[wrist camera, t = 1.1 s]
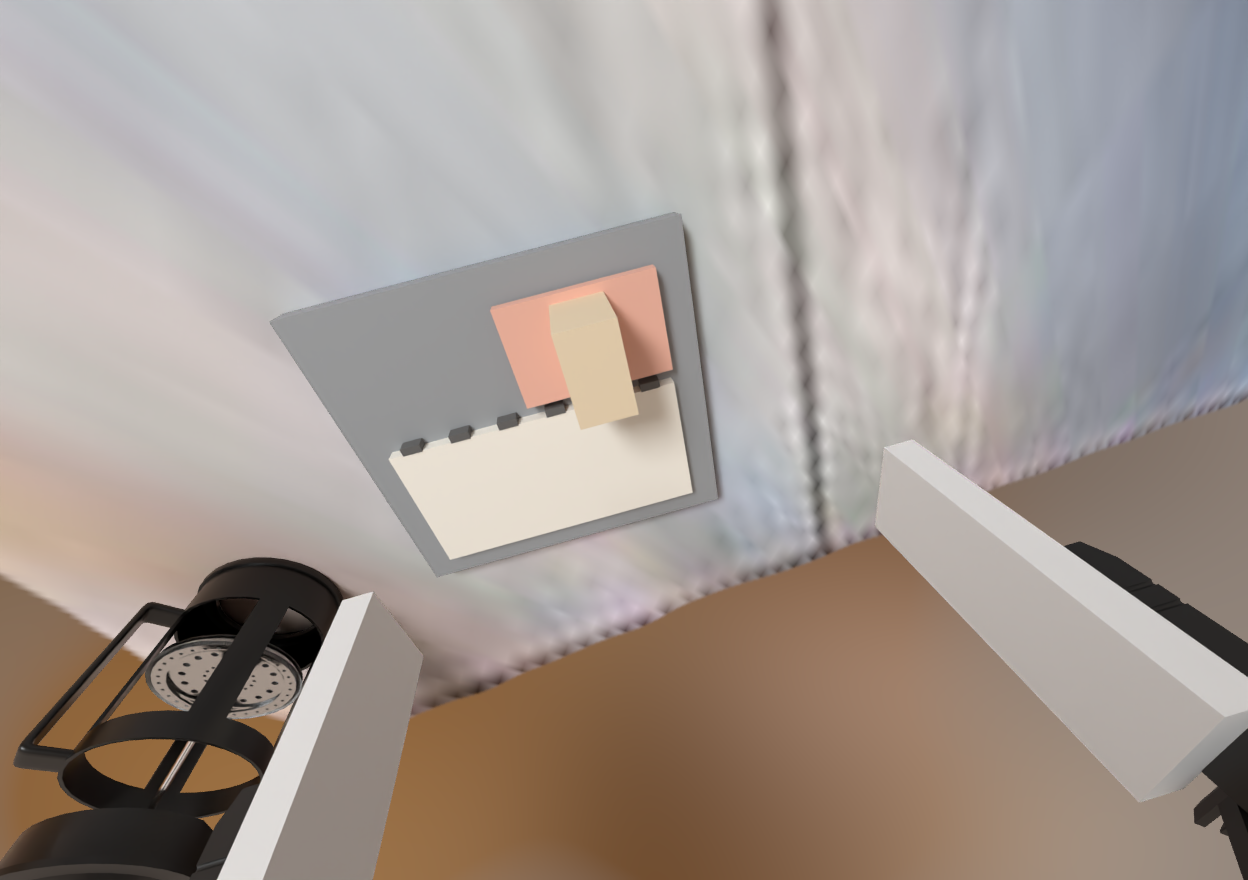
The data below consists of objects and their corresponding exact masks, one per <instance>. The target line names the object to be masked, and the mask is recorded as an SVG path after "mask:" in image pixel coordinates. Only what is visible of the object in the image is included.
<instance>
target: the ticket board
mask: <svg viewBox="0 0 1248 880" xmlns="http://www.w3.org/2000/svg"><path fill="white" fill-rule="evenodd" d="M652 264H653V265H654V266H655V267H656V272H657V278H658V283H659V289H660V295H661V301H662V307H663V313H664V319H665V325H666V331H667V337H668V343H669V349H670V355H671V361H672V367H673V370H670V371H666V372H662V373H658V374H655V375H651V376H647V377H644V378H640V379H636V380H632V385H633V390H634V394H635V399H636V403H637V408H638V412H639V414H638V415H634V416H631V417H627V418H623V419H620V420H616V421H612V422H609V423H605V424H601V425H598V426H594V427H590V428H587V429H583V430H581V429H580V426H579V423H578V420H577V417H576V413H575V410H574V407H573V404H572V401H571V397H569V398H566V399H562V400H558V401H555V402H551V403H547V404H543V405H540V406H536V407H532V408H529V409H527V407H526V404H525V402H524V399H523V396H522V394H521V391H520V389H519V386H518V383H517V381H516V378H515V375H514V373H513V370H512V367H511V365H510V362H509V359H508V357H507V354H506V352H505V349H504V346H503V344H502V341H501V338H500V336H499V333H498V330H497V328H496V325H495V323H494V320H493V317H492V315H491V312H490V309H491V307H492V306H496V305H500V304H504V303H507V302H511V301H515V300H519V299H523V298H526V297H530V296H534V295H538V294H542V293H545V292H549V291H553V290H557V289H561V288H564V287H568V286H572V285H576V284H580V283H583V282H587V281H591V280H595V279H599V278H602V277H606V276H610V275H614V274H618V273H621V272H625V271H629V270H633V269H637V268H641V267H644V266H648V265H652ZM270 324H271V326H272V327H273V329H274V330H275V332H276V333H277V335H278V336H279V338H280V339H281V341H282V342H283V344H284V345H285V347H286V348H287V350H288V351H289V353H290V354H291V356H292V357H293V359H294V361H295V362H296V364H297V365H298V367H299V368H300V370H301V371H302V373H303V374H304V376H305V377H306V379H307V380H308V382H309V383H310V385H311V386H312V388H313V389H314V391H315V392H316V394H317V395H318V397H319V399H320V400H321V402H322V403H323V405H324V406H325V408H326V409H327V411H328V412H329V414H330V415H331V417H332V418H333V420H334V421H335V423H336V424H337V426H338V427H339V429H340V430H341V432H342V434H343V435H344V437H345V438H346V440H347V441H348V443H349V444H350V446H351V447H352V449H353V450H354V452H355V453H356V455H357V456H358V458H359V459H360V461H361V462H362V464H363V465H364V467H365V468H366V470H367V472H368V473H369V475H370V476H371V478H372V479H373V481H374V482H375V484H376V485H377V487H378V488H379V490H380V491H381V493H382V494H383V496H384V497H385V499H386V500H387V502H388V503H389V505H390V507H391V508H392V510H393V511H394V513H395V514H396V516H397V517H398V519H399V520H400V522H401V523H402V525H403V526H404V528H405V529H406V531H407V532H408V534H409V535H410V537H411V538H412V540H413V542H414V543H415V545H416V546H417V548H418V549H419V551H420V552H421V554H422V555H423V557H424V558H425V560H426V561H427V563H428V564H429V566H430V567H431V569H432V570H433V572H434V573H435V575H436V576H437V577H440V576H443V575H447V574H451V573H454V572H458V571H461V570H465V569H469V568H472V567H476V566H479V565H483V564H487V563H490V562H494V561H497V560H501V559H504V558H508V557H512V556H515V555H519V554H522V553H526V552H530V551H533V550H537V549H540V548H544V547H548V546H551V545H555V544H558V543H562V542H566V541H569V540H573V539H576V538H580V537H584V536H587V535H591V534H594V533H598V532H602V531H605V530H609V529H612V528H616V527H619V526H623V525H627V524H630V523H634V522H637V521H641V520H645V519H648V518H652V517H655V516H659V515H663V514H666V513H670V512H673V511H677V510H681V509H684V508H688V507H691V506H695V505H699V504H702V503H706V502H709V501H713V500H716V499H718V495H717V487H716V479H715V471H714V464H713V456H712V448H711V441H710V433H709V425H708V417H707V410H706V402H705V394H704V387H703V379H702V371H701V363H700V356H699V348H698V340H697V333H696V325H695V317H694V309H693V302H692V294H691V286H690V279H689V271H688V263H687V255H686V248H685V240H684V232H683V225H682V217H681V214H678V213H675V212H673V213H669V214H665V215H661V216H657V217H654V218H650V219H646V220H642V221H638V222H634V223H630V224H627V225H623V226H619V227H615V228H611V229H607V230H604V231H600V232H596V233H592V234H588V235H584V236H581V237H577V238H573V239H569V240H565V241H561V242H557V243H554V244H550V245H546V246H542V247H538V248H534V249H531V250H527V251H523V252H519V253H515V254H511V255H507V256H504V257H500V258H496V259H492V260H488V261H484V262H481V263H477V264H473V265H469V266H465V267H461V268H457V269H454V270H450V271H446V272H442V273H438V274H434V275H431V276H427V277H423V278H419V279H415V280H411V281H407V282H404V283H400V284H396V285H392V286H388V287H384V288H381V289H377V290H373V291H369V292H365V293H361V294H357V295H354V296H350V297H346V298H342V299H338V300H334V301H331V302H327V303H323V304H319V305H315V306H311V307H307V308H304V309H300V310H296V311H292V312H288V313H284V314H282V315H280V316H278V317H277V318H275V319H273V320H272V321H270Z"/></svg>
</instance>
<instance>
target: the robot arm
mask: <svg viewBox="0 0 1248 880" xmlns="http://www.w3.org/2000/svg"><path fill="white" fill-rule="evenodd" d="M875 527H876V528H877V529H878V530H879V531H880V532H881V533H882V534H883V535H884V536H885V537H886V538H887V539H888V541H889V542H890V543H891V544H892V545H893V546H894V547H895V548H896V549H897V550H898V551H899V552H900V553H901V554H902V555H903V556H904V557H905V558H906V559H907V560H908V561H909V563H910V564H912V566H913V567H914V568H915V569H916V570H917V571H918V572H919V573H920V574H921V575H922V576H923V577H924V578H925V579H926V580H927V581H928V582H929V583H930V584H931V586H933V588H934V589H935V590H936V591H937V592H938V593H939V594H940V595H941V596H942V597H943V598H944V599H945V600H946V601H947V602H948V603H949V604H950V605H951V606H952V607H953V608H954V610H955V611H957V613H958V614H959V615H960V616H961V617H962V618H963V619H964V620H965V621H966V622H967V623H968V624H969V625H970V626H971V627H972V628H973V629H974V630H975V631H976V632H977V634H978V635H979V636H980V637H981V638H982V639H983V640H984V641H985V642H986V643H987V644H988V645H989V646H990V647H991V648H992V649H993V650H994V651H995V652H996V653H997V654H998V655H999V656H1000V658H1001V659H1002V660H1003V661H1004V662H1005V663H1006V664H1007V665H1008V666H1009V667H1010V668H1011V669H1012V670H1013V671H1014V672H1015V673H1016V674H1017V675H1018V676H1019V677H1020V678H1021V680H1022V681H1023V682H1025V684H1026V685H1027V686H1028V687H1029V688H1030V689H1031V690H1032V691H1033V692H1034V693H1035V694H1036V695H1037V696H1038V697H1039V698H1040V699H1041V700H1042V702H1044V704H1046V706H1047V707H1048V708H1049V709H1050V710H1051V711H1052V712H1053V713H1054V714H1055V715H1056V716H1057V717H1058V718H1059V719H1060V720H1061V721H1062V722H1063V723H1064V724H1065V726H1067V728H1068V729H1069V730H1070V731H1071V732H1072V733H1073V734H1074V735H1075V736H1076V737H1077V738H1078V739H1079V740H1080V741H1081V742H1082V743H1083V744H1084V745H1085V746H1086V747H1087V748H1088V749H1089V751H1090V752H1091V753H1092V754H1093V755H1094V756H1095V757H1096V758H1097V759H1098V760H1099V761H1100V762H1101V763H1102V764H1103V765H1104V766H1105V767H1106V768H1107V769H1108V770H1109V772H1110V773H1111V774H1112V775H1113V776H1114V777H1115V778H1116V779H1117V780H1118V781H1119V782H1120V783H1121V784H1122V785H1123V786H1124V787H1125V788H1126V789H1127V790H1128V791H1129V792H1130V793H1131V794H1132V795H1133V796H1134V797H1135V799H1136V800H1137V801H1138V802H1139V803H1140V802H1143V801H1146V800H1149V799H1152V798H1156V797H1159V796H1162V795H1165V794H1168V793H1172V792H1174V791H1178V790H1181V789H1184V788H1185V787H1186V786H1187V785H1188V784H1189V783H1190V782H1191V781H1193V780H1194V778H1196V777H1197V776H1198V775H1199V774H1200V773H1201V772H1203V773H1204V774H1205V775H1206V776H1207V777H1208V778H1209V779H1210V780H1211V781H1213V782H1214V783H1215V784H1216V785H1217V786H1218V787H1217V788H1216V789H1214V790H1213V791H1212V792H1211V793H1210V794H1208V795H1207V796H1206V797H1205V798H1204V799H1202V800H1201V801H1200V803H1199V804H1198V805H1197V806H1196V807H1195V808H1194V822H1195V824H1198V825H1201V826H1203V827H1206V826H1207V825H1208V824H1210V823H1211V822H1212V821H1214V820H1215V819H1216V818H1218V817H1219V816H1220V815H1221V816H1222V819H1223V822H1224V823H1223V825H1222V827H1221V829H1220V833H1222V834H1224V835H1227V836H1229V839H1230V842H1231V845H1232V848H1233V851H1234V853H1235V856H1236V859H1237V862H1238V865H1239V868H1240V871H1241V874H1242V876H1243V879H1244V880H1248V643H1246V642H1245V641H1243V640H1242V639H1240V638H1239V637H1237V636H1236V635H1234V634H1233V633H1231V632H1230V631H1228V630H1227V629H1225V628H1224V627H1222V626H1220V625H1219V624H1218V623H1216V622H1215V621H1213V620H1212V619H1210V618H1208V617H1207V616H1206V615H1204V614H1202V613H1201V612H1200V611H1198V610H1196V609H1195V608H1194V607H1192V606H1190V605H1189V604H1184V603H1182V602H1181V601H1180V598H1178V597H1177V596H1175V595H1174V594H1172V593H1171V592H1169V591H1168V590H1166V589H1165V588H1163V587H1162V586H1160V585H1159V584H1158V585H1155V584H1153V583H1152V580H1151V579H1150V578H1148V577H1147V576H1145V575H1143V574H1142V573H1141V572H1139V571H1138V570H1136V569H1134V568H1133V567H1131V566H1130V565H1129V564H1127V563H1126V562H1124V561H1122V560H1121V559H1119V558H1118V557H1116V556H1113V555H1111V554H1109V553H1106V552H1104V551H1101V550H1099V549H1097V548H1094V547H1092V546H1089V545H1087V544H1085V543H1082V542H1076V543H1073V544H1069V545H1066V546H1062V545H1061V544H1059V543H1058V542H1057V541H1055V540H1054V539H1052V538H1051V537H1049V536H1048V535H1046V534H1045V533H1044V532H1042V531H1041V530H1039V529H1038V528H1037V527H1035V526H1034V525H1032V524H1031V523H1030V522H1028V521H1027V520H1026V519H1024V518H1023V517H1021V516H1020V515H1018V514H1017V513H1016V512H1014V511H1013V510H1011V509H1010V508H1009V507H1007V506H1006V505H1004V504H1003V503H1002V502H1000V501H999V500H997V499H996V498H995V497H993V496H992V495H990V494H989V493H987V492H986V491H985V490H983V489H982V488H980V487H979V486H978V485H976V484H975V483H973V482H972V481H971V480H969V479H968V478H966V477H965V476H964V475H962V474H961V473H959V472H958V471H957V470H955V469H954V468H952V467H951V466H949V465H948V464H947V463H945V462H944V461H942V460H941V459H940V458H938V457H937V456H935V455H934V454H933V453H931V452H930V451H928V450H927V449H926V448H924V447H923V446H921V445H920V444H918V443H917V442H916V441H914V440H913V439H912V440H909V441H905V442H902V443H898V444H895V445H891V446H887V447H884V452H883V460H882V469H881V477H880V486H879V494H878V503H877V511H876V520H875ZM423 658H424V656H423V654H422V653H421V652H420V650H419V649H418V648H417V647H416V645H415V644H414V643H413V642H412V640H411V639H410V638H409V636H408V635H407V634H406V633H405V631H404V630H403V629H402V627H401V626H400V625H399V624H398V622H397V621H396V620H395V619H394V617H393V616H392V615H391V613H390V612H389V611H388V610H387V608H386V607H385V606H384V605H383V603H382V602H381V601H380V599H379V598H378V597H377V596H376V594H375V593H374V592H370V593H367V594H363V595H360V596H356V597H352V598H349V599H345V600H342V602H341V605H340V607H339V609H338V611H337V613H336V616H335V618H334V620H333V622H332V625H331V627H330V629H329V631H328V634H327V636H326V638H325V640H324V642H323V645H322V647H321V649H320V651H319V654H318V656H317V658H316V660H315V663H314V665H313V667H312V669H311V671H310V674H309V676H308V678H307V680H306V683H305V685H304V687H303V689H302V691H301V694H300V696H299V698H298V700H297V703H296V705H295V707H294V709H293V712H292V714H291V716H290V718H289V720H288V723H287V725H286V727H285V729H284V732H283V734H282V736H281V738H280V741H279V743H278V745H277V747H276V749H275V752H274V754H273V756H272V758H271V761H270V763H269V765H268V767H267V769H266V772H265V774H264V776H263V778H262V781H261V783H259V784H256V785H253V786H249V787H246V788H243V789H242V791H241V792H240V793H239V795H238V796H237V797H236V799H235V800H234V801H233V803H232V804H231V805H230V807H229V808H228V810H227V811H226V812H225V814H224V815H223V816H222V818H221V819H220V820H219V822H218V823H217V825H216V826H215V828H214V830H213V832H212V834H211V836H210V838H209V840H208V842H207V844H206V846H205V848H204V850H203V853H202V855H201V857H200V859H199V861H198V863H197V865H196V866H197V870H196V872H195V873H193V874H192V875H191V877H190V879H189V880H373V875H374V871H375V867H376V863H377V858H378V854H379V849H380V845H381V841H382V836H383V831H384V828H385V823H386V819H387V815H388V810H389V806H390V802H391V797H392V792H393V788H394V784H395V780H396V775H397V771H398V766H399V762H400V758H401V754H402V749H403V745H404V740H405V735H406V732H407V727H408V723H409V719H410V714H411V710H412V706H413V701H414V697H415V692H416V688H417V684H418V679H419V675H420V671H421V666H422V662H423Z"/></svg>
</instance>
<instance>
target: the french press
mask: <svg viewBox="0 0 1248 880" xmlns="http://www.w3.org/2000/svg"><path fill="white" fill-rule="evenodd" d="M237 598H246V599H256V600H259V601H258V603H257V604H256V606H255V608H254V609H253V611H252V612H251V614H250V615H249V617H248V618H247V620H246V622H245V623H244V625H243V626H241V625H239V624H237V623H236V622H234V621H233V620H231V619H230V618H229V617H228V616H227V615H226V614H225V613H224V611H223V610H222V608H221V606H220V603H219V600H223V599H237ZM342 600H343V598H342V596H341V594H340V592H339V590H338V589H337V587H336V586H335V585H334V584H333V583H332V582H331V581H330V580H329V579H328V578H326V577H325V576H324V575H323V574H321V573H319V572H317V571H315V570H314V569H312V568H309V567H307V566H304V565H302V564H299V563H295V562H291V561H287V560H283V559H275V558H248V559H241V560H237V561H233V562H230V563H227V564H225V565H223V566H221V567H219V568H217V569H215V570H214V571H213V572H211V573H210V574H209V575H208V576H207V577H206V578H205V579H204V581H203V582H202V584H201V585H200V587H199V590H198V593H197V595H196V596H195V598H194V599H193V600H192V601H191V603H190V604H189V605H188V606H187V608H186V609H185V610H183V609H179V608H175V607H171V606H167V605H163V604H159V603H155V602H150V603H147V604H146V605H144V606H143V607H142V608H141V609H140V610H139V612H138V613H137V614H136V615H135V616H134V617H133V618H132V619H131V621H130V622H129V623H128V624H127V625H126V626H125V627H124V628H123V629H122V631H121V632H120V633H119V634H118V635H117V636H116V637H115V638H114V640H113V641H112V642H111V643H110V644H109V645H108V646H107V647H106V648H105V650H104V651H103V652H102V653H101V654H100V655H99V656H98V658H97V659H96V660H95V661H94V662H93V663H92V664H91V665H90V666H89V667H88V669H87V670H86V671H85V672H84V673H83V674H82V675H81V676H80V677H79V679H78V680H77V681H76V682H75V683H74V684H73V685H72V687H71V688H70V689H69V690H68V691H67V692H66V693H65V694H64V695H63V696H62V698H61V699H60V700H59V701H58V702H57V703H56V704H55V706H54V707H53V708H52V709H51V710H50V711H49V712H48V713H47V715H45V717H44V718H43V719H42V720H41V721H40V722H39V723H38V724H37V726H36V727H35V728H34V729H33V730H32V731H31V732H30V733H29V734H28V736H27V737H26V738H25V739H24V740H23V741H22V743H21V744H20V746H19V747H18V750H17V753H16V756H15V759H14V766H15V767H19V768H24V769H33V770H42V771H51V772H58V777H57V779H58V782H59V785H60V787H61V788H62V789H63V790H64V791H65V793H66V794H67V795H68V796H70V797H71V798H73V799H74V800H76V801H77V802H79V803H81V804H83V805H85V806H88V807H90V808H92V809H93V810H84V811H78V812H73V813H68V814H63V815H59V816H56V817H53V818H49V819H46V820H44V821H42V822H39V823H37V824H35V825H32V826H31V827H30V828H28V829H27V830H25V831H24V832H23V833H22V834H21V835H20V836H19V838H18V839H17V840H16V842H15V843H14V844H13V845H12V847H11V848H10V849H9V851H8V852H7V853H6V855H5V856H4V857H3V858H2V860H1V861H0V880H189V879H190V877H191V875H192V874H193V873H195V872H196V870H197V866H196V865H197V863H198V861H199V859H200V857H201V855H202V853H203V850H204V848H205V846H206V844H207V842H208V840H209V838H210V836H211V834H212V832H213V830H212V829H211V828H210V827H209V826H208V825H207V824H206V823H205V822H204V820H201V819H198V818H203V817H209V816H213V815H218V814H222V813H225V812H226V811H227V810H228V808H229V807H230V805H231V804H232V803H233V801H234V800H235V799H236V797H237V796H238V795H239V793H240V792H241V791H242V789H243V788H246V787H249V786H253V785H256V784H259V783H261V781H262V778H263V776H264V774H265V772H266V769H267V767H268V765H269V763H270V761H271V758H272V756H273V754H274V752H275V749H276V747H277V745H278V743H279V741H280V738H281V736H282V734H283V732H284V729H285V727H286V725H287V723H288V720H289V718H290V716H291V714H292V712H293V709H294V707H295V705H296V703H297V700H298V698H299V696H300V694H301V691H302V689H303V687H304V685H305V683H306V680H307V678H308V676H309V674H310V671H311V669H312V667H313V665H314V663H315V660H316V658H317V656H318V654H319V651H320V649H321V647H322V645H323V642H324V640H325V638H326V636H327V634H328V631H329V629H330V627H331V625H332V622H333V620H334V618H335V616H336V613H337V611H338V609H339V607H340V605H341V602H342ZM288 608H290V609H292V610H294V611H296V612H298V613H300V614H301V615H302V616H304V617H305V618H307V619H308V620H309V621H310V622H311V623H312V624H313V625H314V626H313V627H311V628H309V629H307V630H305V631H301V632H298V633H292V634H274V633H275V631H276V629H277V627H278V625H279V624H280V622H281V620H282V618H283V617H284V615H285V613H286V611H287V609H288ZM143 623H152V624H156V625H161V626H165V627H169V628H170V629H169V630H168V632H167V633H166V634H165V635H164V637H163V638H162V639H161V640H160V642H159V643H158V644H157V646H156V647H155V648H154V649H153V651H152V652H151V653H150V654H149V656H148V657H147V658H146V659H145V661H144V662H143V663H142V664H141V666H140V667H139V668H138V669H137V671H136V672H135V673H134V675H133V676H132V677H131V678H130V680H129V681H128V682H127V683H126V685H125V686H124V687H123V688H122V690H121V691H120V692H119V693H118V695H117V696H116V697H115V698H114V700H113V701H112V702H111V703H110V705H109V706H108V707H107V709H106V710H105V711H104V712H103V714H102V715H101V716H100V717H99V719H98V720H97V721H96V722H95V724H94V725H93V726H92V728H91V729H90V730H89V731H88V732H87V734H86V735H85V736H84V738H83V739H82V740H81V741H80V742H79V744H78V745H77V746H76V748H75V749H74V750H69V749H61V748H54V747H47V746H39V745H38V743H39V742H40V741H41V740H42V739H43V738H44V736H45V735H46V734H47V733H48V732H49V731H50V730H51V728H52V727H53V726H54V725H55V724H56V723H57V721H58V720H59V719H60V718H61V717H62V716H63V714H64V713H65V712H66V711H67V710H68V709H69V708H70V706H71V705H72V704H73V703H74V702H75V701H76V699H77V698H78V697H79V696H80V695H81V693H83V691H84V690H85V689H86V688H87V687H88V686H89V684H90V683H91V682H92V681H93V680H94V679H95V677H96V676H97V675H98V674H99V673H100V672H101V671H102V669H103V668H104V667H105V666H106V665H107V664H108V662H109V661H110V660H111V659H112V658H113V657H114V655H115V654H116V653H117V652H118V651H119V650H120V649H121V647H122V646H123V645H124V644H125V643H126V642H127V640H128V639H129V638H130V637H131V636H132V635H133V633H134V632H135V631H136V630H137V629H138V628H139V627H140V625H141V624H143ZM173 635H174V638H175V640H176V642H177V643H174V644H172V645H170V646H169V647H167V648H166V649H164V650H163V651H162V652H161V650H162V649H163V648H164V646H165V645H166V644H167V643H168V641H169V640H170V639H171V637H172V636H173ZM160 652H161V653H160ZM309 666H310V668H309V670H308V672H307V674H306V677H305V679H304V681H303V683H302V680H303V676H302V670H304V669H306V668H308V667H309ZM145 671H146V672H145ZM144 672H145V678H146V683H147V684H148V686H149V688H150V690H151V691H152V692H153V693H154V694H155V695H156V696H157V697H158V698H160V699H161V700H163V701H164V702H166V703H167V704H169V705H171V706H173V707H175V708H178V709H180V710H183V711H169V710H167V711H150V712H142V713H135V714H130V715H125V716H122V717H118V718H114V719H111V720H109V721H107V720H108V719H109V717H110V716H111V715H112V714H113V712H114V711H115V710H116V708H117V707H118V706H119V704H120V703H121V702H122V701H123V699H124V698H125V697H126V695H127V694H128V693H129V692H130V690H131V689H132V688H133V686H134V685H135V684H136V683H137V681H138V680H139V679H140V677H141V676H142V675H143V673H144ZM294 700H295V701H294ZM293 702H294V703H293ZM291 703H293V705H292V708H291V710H290V712H289V714H288V716H287V719H286V721H285V723H284V725H283V727H282V730H281V732H280V734H279V736H278V738H277V741H276V743H275V745H274V747H273V746H272V744H271V743H270V741H269V740H268V739H267V738H266V737H265V736H264V735H262V734H261V733H259V732H258V731H257V730H255V729H253V728H251V727H249V726H247V725H245V724H243V723H240V722H237V721H235V720H232V719H244V718H252V717H253V718H254V717H260V716H264V715H268V714H271V713H275V712H277V711H279V710H281V709H284V708H285V707H287V706H288V705H290V704H291ZM143 739H172V740H175V741H174V743H173V744H172V746H171V747H170V749H169V751H168V752H167V754H166V755H165V757H164V758H163V760H162V762H161V763H160V765H159V766H158V768H157V770H156V771H155V773H154V774H153V776H152V778H151V779H150V781H149V782H148V784H147V785H146V787H145V789H142V788H138V787H133V786H129V785H126V784H123V783H121V782H118V781H115V780H113V779H111V778H109V777H107V776H105V775H103V774H101V773H100V772H99V771H97V770H96V769H95V768H93V767H92V766H91V764H90V763H89V762H88V761H87V759H86V757H85V754H84V752H87V751H88V750H91V749H93V748H96V747H100V746H104V745H107V744H111V743H116V742H123V741H129V740H143ZM207 745H211V746H215V747H218V748H221V749H225V750H227V751H230V752H232V753H234V754H236V755H239V756H241V757H242V758H244V759H245V760H247V761H248V762H250V763H251V764H252V765H253V766H254V767H255V768H256V770H257V771H258V773H259V776H258V777H256V778H254V779H252V780H250V781H248V782H245V783H243V784H241V785H237V786H234V787H231V788H226V789H221V790H215V791H208V792H197V793H180V791H181V790H182V788H183V786H184V784H185V782H186V781H187V779H188V777H189V776H190V774H191V772H192V770H193V769H194V767H195V765H196V763H197V762H198V759H199V758H200V756H201V754H202V753H203V751H204V749H205V748H206V746H207Z"/></svg>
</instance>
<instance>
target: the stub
mask: <svg viewBox="0 0 1248 880" xmlns="http://www.w3.org/2000/svg"><path fill="white" fill-rule="evenodd" d="M490 312H491V315H492V317H493V320H494V323H495V325H496V328H497V330H498V333H499V336H500V338H501V341H502V344H503V346H504V349H505V352H506V354H507V357H508V359H509V362H510V365H511V367H512V370H513V373H514V375H515V378H516V381H517V383H518V386H519V389H520V391H521V394H522V396H523V399H524V402H525V404H526V407H527V409H529V408H532V407H536V406H540V405H543V404H547V403H551V402H555V401H558V400H562V399H566V398H569V397H571V401H572V404H573V407H574V410H575V413H576V417H577V420H578V423H579V426H580V429H581V430H583V429H587V428H590V427H594V426H598V425H601V424H605V423H609V422H612V421H616V420H620V419H623V418H627V417H631V416H634V415H638V414H639V412H638V408H637V403H636V399H635V394H634V390H633V385H632V380H636V379H640V378H644V377H647V376H651V375H655V374H658V373H662V372H666V371H670V370H673V367H672V361H671V355H670V349H669V343H668V337H667V331H666V325H665V319H664V313H663V307H662V301H661V295H660V289H659V283H658V278H657V272H656V267H655V266H654V265H653V264H652V265H648V266H644V267H641V268H637V269H633V270H629V271H625V272H621V273H618V274H614V275H610V276H606V277H602V278H599V279H595V280H591V281H587V282H583V283H580V284H576V285H572V286H568V287H564V288H561V289H557V290H553V291H549V292H545V293H542V294H538V295H534V296H530V297H526V298H523V299H519V300H515V301H511V302H507V303H504V304H500V305H496V306H492V307H491V309H490Z"/></svg>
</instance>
